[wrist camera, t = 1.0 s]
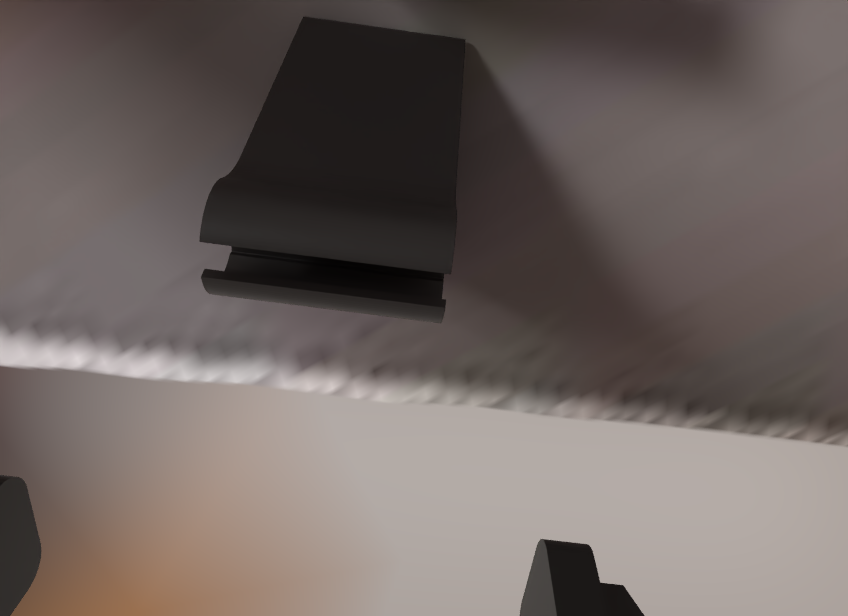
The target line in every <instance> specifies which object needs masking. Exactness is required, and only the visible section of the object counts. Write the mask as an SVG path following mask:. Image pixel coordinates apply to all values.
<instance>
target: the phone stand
mask: <svg viewBox="0 0 848 616" xmlns="http://www.w3.org/2000/svg"><path fill="white" fill-rule="evenodd" d="M464 53H465V39H458V38H451V37H444V36H437V35H430V34H423V33H415V32H408V31H401V30H394V29H387V28H380V27H373V26H366V25H359V24H352V23H345V22H338V21H331V20H323V19H316V18H309V17H303V19H302V21H301V23H300V25H299V28H298V30H297V32H296V34H295V36H294V39H293V41H292V43H291V45H290V48H289V50H288V52H287V54H286V57H285V59H284V61H283V63H282V65H281V68H280V70H279V72H278V74H277V77H276V79H275V81H274V83H273V85H272V88H271V90H270V92H269V94H268V97H267V99H266V101H265V103H264V105H263V108H262V110H261V112H260V114H259V117H258V119H257V121H256V123H255V126H254V128H253V130H252V132H251V134H250V137H249V139H248V141H247V143H246V146H245V148H244V150H243V152H242V154H241V157H240V159H239V161H238V162H237V164H236V166H235V167H234V169H233V170H232V171H231V172H230V173H229V174H228V175H227V176H225V177H223V178H220V179H219V180H218V181H217V182H216V183H215V184H214V186H213V188H212V190H211V192H210V194H209V197H208V200H207V203H206V206H205V210H204V214H203V219H202V224H201V232H200V242H205V243H213V244H221V245H229V246H232V252H231V253H230V256H229V260H228V263H227V266H226V269H225V271H218V270H210V269H204V271H203V274H202V276H201V279H202V283H203V285H204V288H205V290H206V291H207V292H208V293H209V294H213V295H221V296H229V297H237V298H245V299H253V300H261V301H269V302H277V303H285V304H292V305H300V306H308V307H316V308H324V309H332V310H340V311H348V312H356V313H364V314H371V315H379V316H387V317H395V318H403V319H411V320H419V321H427V322H435V323H442V320H443V316H444V312H445V305H446V300H444V299H442V291H443V278H444V273H445V274H451V269H452V262H453V253H454V244H455V234H456V220H457V210H456V201H455V198H456V178H457V162H458V147H459V131H460V115H461V100H462V84H463V69H464Z"/></svg>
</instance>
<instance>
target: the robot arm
mask: <svg viewBox="0 0 848 616" xmlns="http://www.w3.org/2000/svg"><path fill="white" fill-rule="evenodd" d="M40 558H41V543H40V539H39V536H38V531H37V527H36V523H35V519H34V515H33V510H32V506H31V502H30V498H29V494H28V490H27V486H26V484H25V482H24V480H23V479H21V478H19V477H13V476H4V475H0V616H10V615H11V614H12V612H13V611H14V609H15V608H16V607H17V605H18V604H19V602H20V601H21V599H22V598H23V596H24V595H25V594H26V592H27V591H28V589H29V587H30V586H31V584H32V582H33V580H34V578H35V576H36V573H37V570H38V567H39V563H40ZM520 616H644V614H643V613H642V612H641V610H640V609H639V607H638V606H637V604H636V603H635V602H634V600H633V599H632V597H631V596H630V595H629V593H628V592H627V590H626V589H625V587H624V586H623V585H615V584H607V583H600V580H599V576H598V572H597V568H596V563H595V559H594V555H593V551H592V549H591V547H590V546H589V545H587V544H580V543H571V542H561V541H553V540H544V539H541V540H540V541H539V542H538V545H537V548H536V551H535V555H534V559H533V563H532V566H531V570H530V574H529V578H528V581H527V585H526V589H525V592H524V596H523V599H522V604H521V610H520Z"/></svg>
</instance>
